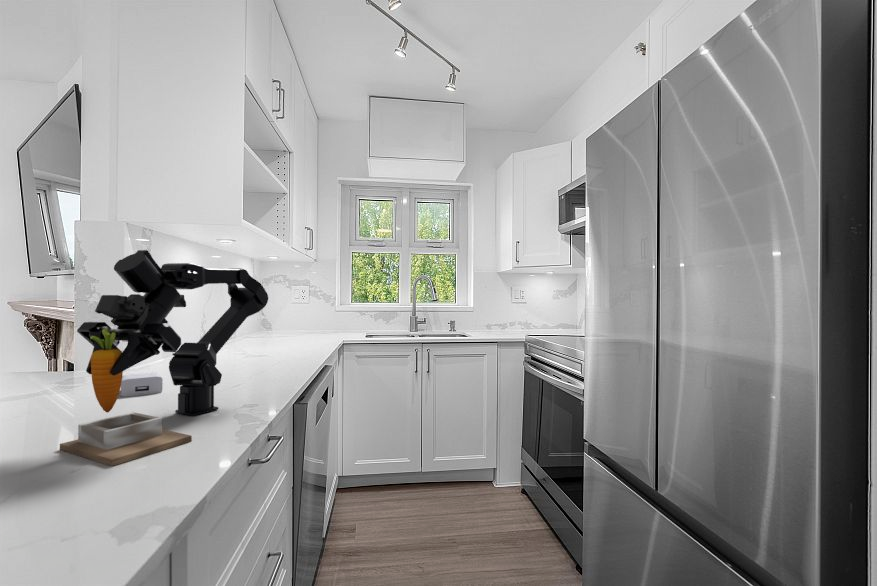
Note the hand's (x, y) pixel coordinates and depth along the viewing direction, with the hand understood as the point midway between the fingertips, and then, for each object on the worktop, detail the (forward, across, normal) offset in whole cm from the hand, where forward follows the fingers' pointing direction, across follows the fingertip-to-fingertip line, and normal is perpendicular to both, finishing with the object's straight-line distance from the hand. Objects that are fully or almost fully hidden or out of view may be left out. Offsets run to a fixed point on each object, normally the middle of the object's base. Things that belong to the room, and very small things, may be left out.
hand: (100, 373), depth 76 cm
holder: (+8, +5, +10) cm, 14 cm away
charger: (-18, -32, +38) cm, 53 cm away
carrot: (+4, 0, +6) cm, 8 cm away
